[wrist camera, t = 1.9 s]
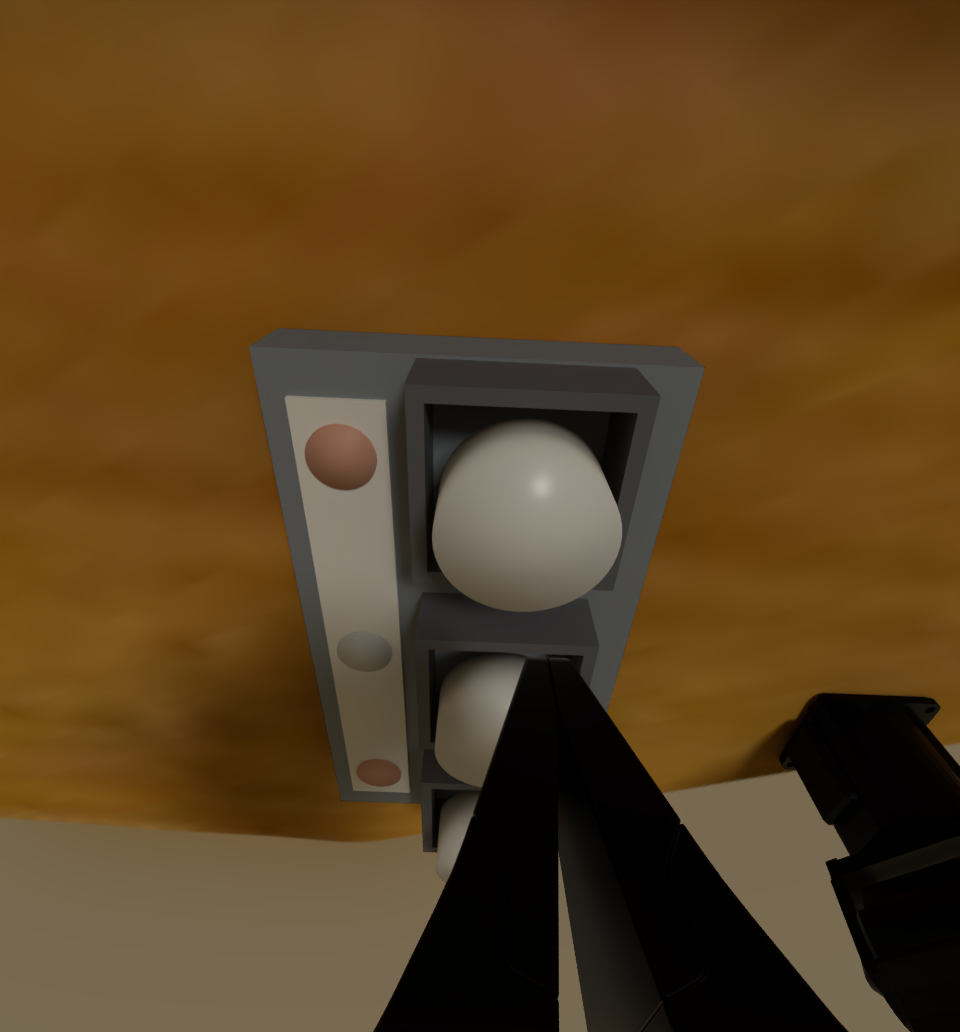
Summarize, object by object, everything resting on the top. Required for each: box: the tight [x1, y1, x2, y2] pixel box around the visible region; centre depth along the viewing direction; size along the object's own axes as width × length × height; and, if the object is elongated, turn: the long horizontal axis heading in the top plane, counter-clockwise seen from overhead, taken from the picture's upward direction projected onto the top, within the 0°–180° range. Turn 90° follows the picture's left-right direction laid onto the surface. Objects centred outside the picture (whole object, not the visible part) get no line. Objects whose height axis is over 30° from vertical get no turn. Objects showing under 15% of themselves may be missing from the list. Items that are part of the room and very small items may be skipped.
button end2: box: [436, 790, 480, 883], centre depth 24 cm, size 5×5×2 cm
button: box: [432, 417, 622, 612], centre depth 14 cm, size 5×5×2 cm
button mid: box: [435, 653, 527, 787], centre depth 19 cm, size 5×5×2 cm
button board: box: [249, 328, 705, 852], centre depth 22 cm, size 14×26×5 cm, turn 178°
